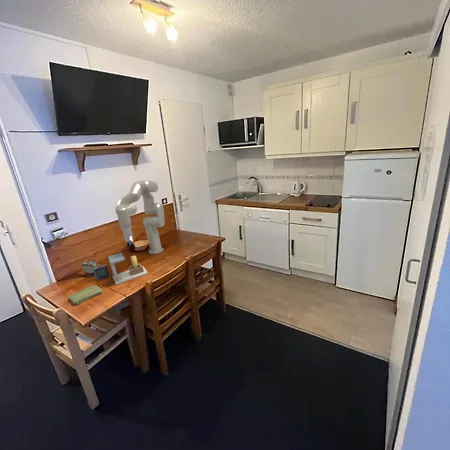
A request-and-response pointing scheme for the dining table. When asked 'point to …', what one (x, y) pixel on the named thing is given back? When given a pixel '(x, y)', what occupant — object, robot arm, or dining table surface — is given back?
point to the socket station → (127, 274)
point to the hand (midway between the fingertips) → (131, 247)
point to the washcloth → (85, 294)
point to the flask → (101, 272)
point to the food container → (89, 267)
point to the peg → (134, 262)
